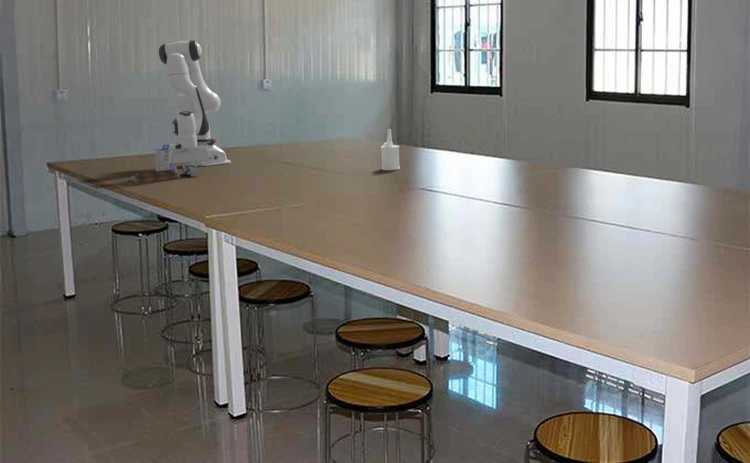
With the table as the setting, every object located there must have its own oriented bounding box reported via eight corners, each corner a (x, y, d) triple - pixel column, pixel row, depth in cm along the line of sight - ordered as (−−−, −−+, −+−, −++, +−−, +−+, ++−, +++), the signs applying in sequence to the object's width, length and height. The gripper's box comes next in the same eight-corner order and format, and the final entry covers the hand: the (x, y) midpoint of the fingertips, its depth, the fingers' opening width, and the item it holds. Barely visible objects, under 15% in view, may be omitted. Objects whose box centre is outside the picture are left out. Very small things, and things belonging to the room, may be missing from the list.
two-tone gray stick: (183, 173, 464) (182, 164, 463) (190, 172, 465) (190, 164, 464) (190, 176, 452) (190, 168, 451) (198, 176, 453) (197, 167, 452)
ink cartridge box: (177, 172, 470) (175, 144, 467) (170, 174, 465) (168, 145, 462) (163, 171, 475) (160, 144, 472) (155, 173, 470) (153, 145, 467)
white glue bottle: (403, 169, 453) (402, 129, 449) (387, 171, 449) (386, 130, 444) (392, 166, 462) (391, 127, 458) (376, 168, 457) (375, 129, 453)
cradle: (174, 175, 459) (174, 168, 458) (180, 178, 448) (180, 171, 448) (130, 179, 450) (130, 172, 449) (135, 183, 439) (135, 175, 438)
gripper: (206, 141, 462) (208, 168, 465) (166, 145, 454) (169, 172, 457) (210, 142, 457) (212, 170, 460) (169, 146, 448) (172, 174, 451)
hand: (190, 171), depth 458 cm, fingers closed on two-tone gray stick, 3 cm apart
